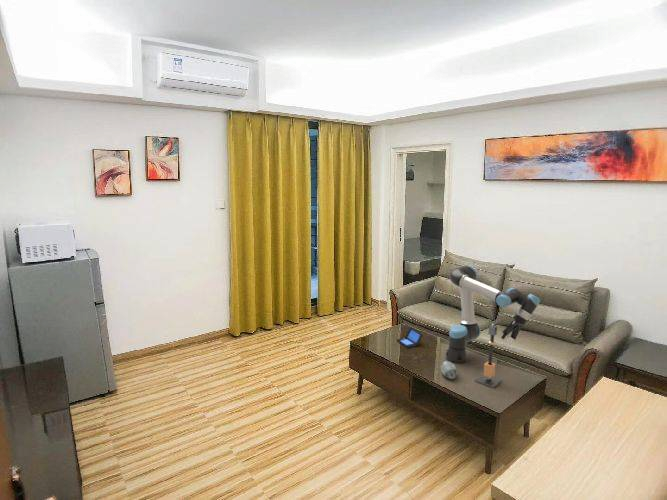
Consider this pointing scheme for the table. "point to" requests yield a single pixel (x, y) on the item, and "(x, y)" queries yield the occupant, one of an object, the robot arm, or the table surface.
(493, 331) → the stand
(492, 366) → the sleeve
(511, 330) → the robot arm
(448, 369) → the spool
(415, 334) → the handheld game console
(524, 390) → the table surface
